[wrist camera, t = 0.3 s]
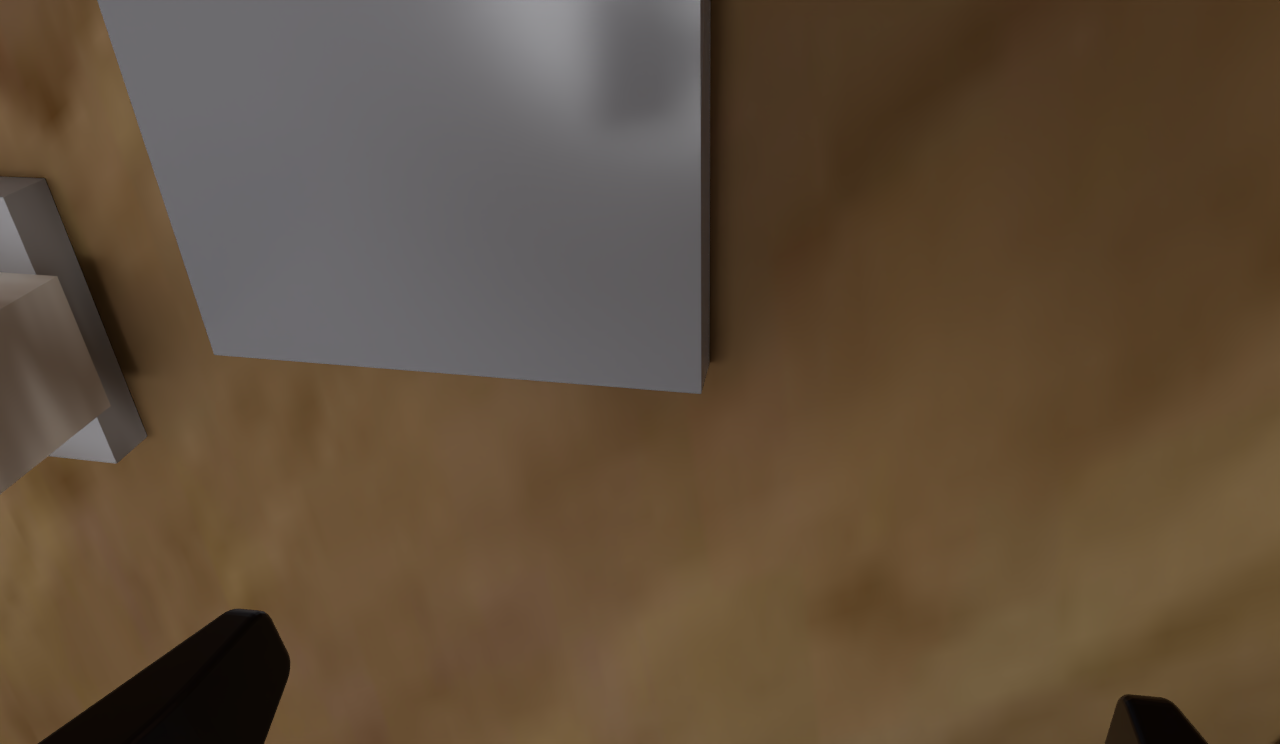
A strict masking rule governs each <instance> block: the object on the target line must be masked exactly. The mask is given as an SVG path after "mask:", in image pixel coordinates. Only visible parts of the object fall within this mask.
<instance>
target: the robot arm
mask: <svg viewBox="0 0 1280 744" xmlns="http://www.w3.org/2000/svg"><path fill="white" fill-rule="evenodd" d="M289 672H290V658H289V654H288V652H287V650H286V648H285V646H284V644H283V642H282V640H281V638H280V636H279V633H278V631H277V629H276V627H275V625H274V623H273V621H272V619H271V618H270V616H269V615H268V614H267V613H265V612H263V611H258V610H247V609H233V610H229V611H227V612H225V613H224V614H222V615H221V616H219V617H218V618H216V619H215V620H213V621H212V622H211V623H209V624H208V625H206V626H205V627H203V628H202V629H201V630H199V631H198V632H196V633H195V634H193V635H192V636H191V637H189V638H188V639H186V640H185V641H183V642H182V643H181V644H179V645H178V646H176V647H175V648H173V649H172V650H171V651H169V652H168V653H166V654H165V655H163V656H162V657H161V658H159V659H158V660H156V661H155V662H154V663H152V664H151V665H149V666H148V667H146V668H145V669H144V670H142V671H141V672H139V673H138V674H136V675H135V676H134V677H132V678H131V679H129V680H128V681H126V682H125V683H124V684H122V685H121V686H119V687H118V688H116V689H115V690H114V691H112V692H111V693H109V694H108V695H106V696H105V697H104V698H102V699H101V700H99V701H98V702H96V703H95V704H94V705H92V706H91V707H89V708H88V709H86V710H85V711H84V712H82V713H81V714H79V715H78V716H77V717H75V718H74V719H72V720H71V721H69V722H68V723H67V724H65V725H64V726H62V727H61V728H59V729H58V730H57V731H55V732H54V733H52V734H51V735H49V736H48V737H47V738H45V739H44V740H42V741H41V742H39V743H38V744H264V742H265V739H266V737H267V734H268V731H269V729H270V726H271V723H272V720H273V718H274V715H275V712H276V710H277V707H278V704H279V702H280V699H281V696H282V693H283V691H284V688H285V685H286V683H287V680H288V676H289ZM1105 744H1208V743H1207V742H1206V740H1205V739H1204V738H1203V737H1202V736H1201V735H1200V733H1199V732H1198V731H1197V730H1196V729H1195V727H1194V726H1193V725H1192V724H1191V723H1190V721H1189V720H1188V719H1187V718H1186V717H1185V715H1184V714H1183V713H1182V712H1181V711H1180V709H1179V708H1178V707H1177V706H1176V705H1175V704H1174V703H1172V702H1171V701H1169V700H1167V699H1165V698H1161V697H1151V696H1141V695H1130V694H1128V695H1124V696H1122V697H1121V698H1120V699H1119V700H1118V702H1117V705H1116V708H1115V711H1114V715H1113V718H1112V721H1111V725H1110V728H1109V731H1108V735H1107V738H1106V741H1105Z"/></svg>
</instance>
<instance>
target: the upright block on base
mask: <svg viewBox="0 0 1280 744" xmlns="http://www.w3.org/2000/svg"><path fill="white" fill-rule="evenodd" d="M146 437H147V435H146V432H145V430H144V427H143V425H142V422H141V420H140V417H139V414H138V412H137V409H136V407H135V404H134V402H133V399H132V397H131V394H130V392H129V389H128V387H127V384H126V382H125V379H124V377H123V374H122V372H121V369H120V367H119V364H118V362H117V359H116V357H115V354H114V351H113V349H112V346H111V344H110V341H109V339H108V336H107V334H106V331H105V329H104V326H103V324H102V321H101V319H100V316H99V314H98V311H97V309H96V306H95V304H94V301H93V299H92V296H91V293H90V291H89V288H88V286H87V283H86V281H85V278H84V276H83V273H82V271H81V268H80V266H79V263H78V261H77V258H76V256H75V253H74V251H73V248H72V246H71V243H70V241H69V238H68V236H67V233H66V230H65V228H64V225H63V223H62V220H61V218H60V215H59V213H58V210H57V208H56V205H55V203H54V200H53V198H52V195H51V193H50V190H49V188H48V185H47V183H46V180H45V178H23V177H0V494H1V493H2V492H3V491H5V490H6V489H7V488H8V487H10V486H11V485H12V484H14V483H15V482H16V481H17V480H19V479H20V478H21V477H22V476H24V475H25V474H26V473H27V472H29V471H30V470H31V469H32V468H34V467H35V466H36V465H37V464H39V463H40V462H41V461H42V460H44V459H45V458H46V457H47V456H54V457H63V458H72V459H81V460H90V461H99V462H108V463H118V462H119V461H120V460H121V459H122V458H123V457H125V456H126V455H127V454H128V453H129V452H130V451H131V450H133V449H134V448H135V447H136V446H137V445H138V444H139V443H140V442H142V441H143V440H144V439H145V438H146Z"/></svg>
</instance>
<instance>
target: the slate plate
mask: <svg viewBox="0 0 1280 744" xmlns="http://www.w3.org/2000/svg"><path fill="white" fill-rule="evenodd" d="M97 1H98V4H99V7H100V10H101V13H102V16H103V19H104V22H105V25H106V28H107V31H108V34H109V37H110V40H111V43H112V46H113V49H114V52H115V55H116V58H117V61H118V64H119V67H120V70H121V73H122V76H123V79H124V82H125V85H126V88H127V92H128V95H129V98H130V101H131V104H132V107H133V110H134V113H135V116H136V119H137V122H138V125H139V128H140V131H141V134H142V137H143V140H144V143H145V146H146V149H147V152H148V155H149V158H150V161H151V164H152V167H153V170H154V173H155V176H156V179H157V182H158V186H159V189H160V192H161V195H162V198H163V201H164V204H165V207H166V210H167V213H168V216H169V219H170V222H171V225H172V228H173V231H174V234H175V237H176V240H177V243H178V246H179V249H180V252H181V255H182V258H183V261H184V264H185V267H186V270H187V273H188V276H189V280H190V283H191V286H192V289H193V292H194V295H195V298H196V301H197V304H198V307H199V310H200V313H201V316H202V319H203V322H204V325H205V328H206V331H207V334H208V337H209V340H210V343H211V346H212V349H213V352H214V355H223V356H236V357H248V358H261V359H273V360H285V361H298V362H310V363H323V364H335V365H348V366H360V367H373V368H385V369H398V370H410V371H423V372H435V373H447V374H460V375H472V376H485V377H497V378H510V379H522V380H535V381H547V382H560V383H572V384H584V385H597V386H609V387H622V388H634V389H647V390H659V391H672V392H684V393H697V394H701V393H702V389H703V386H704V382H705V378H706V375H707V371H708V367H709V335H710V27H711V0H97Z"/></svg>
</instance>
